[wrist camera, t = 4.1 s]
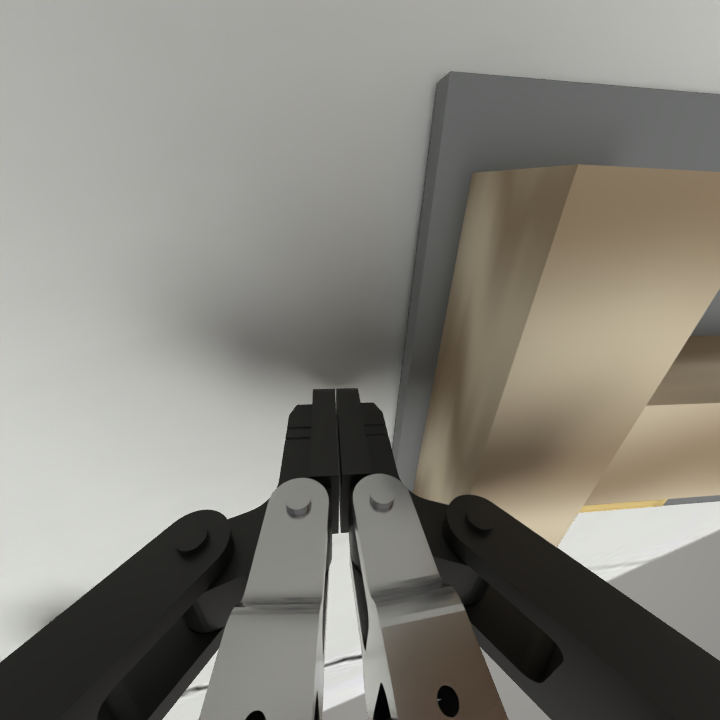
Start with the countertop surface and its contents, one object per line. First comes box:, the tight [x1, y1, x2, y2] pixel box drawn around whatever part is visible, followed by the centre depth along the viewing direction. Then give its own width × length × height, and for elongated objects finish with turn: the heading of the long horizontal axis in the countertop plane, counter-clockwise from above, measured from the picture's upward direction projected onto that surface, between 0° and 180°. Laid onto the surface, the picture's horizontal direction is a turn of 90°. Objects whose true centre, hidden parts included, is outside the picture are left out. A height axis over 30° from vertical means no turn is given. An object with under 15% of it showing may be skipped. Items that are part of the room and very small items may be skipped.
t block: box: [413, 164, 720, 547], centre depth 11 cm, size 14×12×4 cm
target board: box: [392, 71, 720, 513], centre depth 13 cm, size 18×24×1 cm
